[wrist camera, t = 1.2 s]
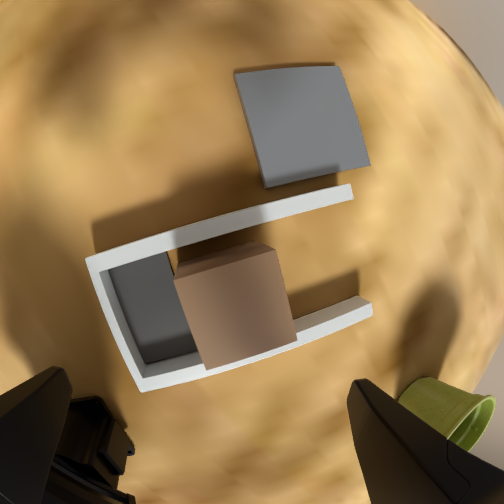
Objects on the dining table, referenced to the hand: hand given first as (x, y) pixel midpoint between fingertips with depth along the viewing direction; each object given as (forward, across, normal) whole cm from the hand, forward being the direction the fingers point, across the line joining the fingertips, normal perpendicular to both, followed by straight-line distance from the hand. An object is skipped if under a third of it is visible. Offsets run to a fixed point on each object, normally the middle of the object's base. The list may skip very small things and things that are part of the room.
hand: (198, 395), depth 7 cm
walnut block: (+11, 0, +2) cm, 11 cm away
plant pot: (+12, -19, +16) cm, 28 cm away
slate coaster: (+14, -5, -9) cm, 18 cm away
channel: (+11, -1, +2) cm, 12 cm away
